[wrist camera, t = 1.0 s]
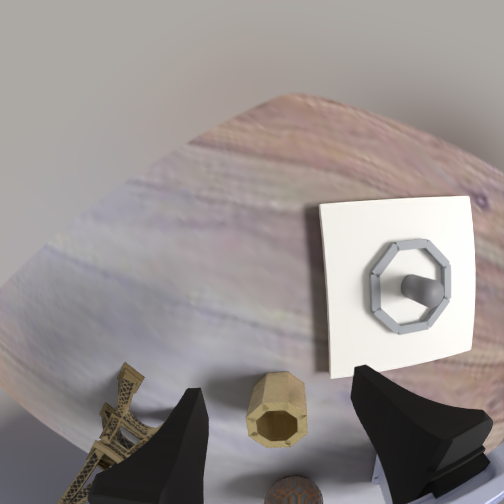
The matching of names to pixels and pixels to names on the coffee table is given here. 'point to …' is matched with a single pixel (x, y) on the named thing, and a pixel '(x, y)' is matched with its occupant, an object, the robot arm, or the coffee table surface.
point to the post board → (397, 281)
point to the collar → (277, 410)
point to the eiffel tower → (112, 437)
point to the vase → (294, 492)
